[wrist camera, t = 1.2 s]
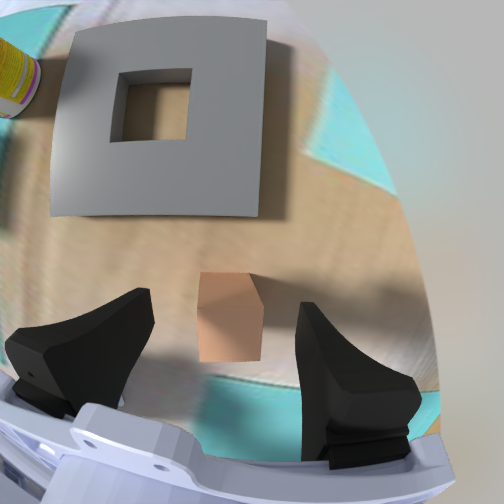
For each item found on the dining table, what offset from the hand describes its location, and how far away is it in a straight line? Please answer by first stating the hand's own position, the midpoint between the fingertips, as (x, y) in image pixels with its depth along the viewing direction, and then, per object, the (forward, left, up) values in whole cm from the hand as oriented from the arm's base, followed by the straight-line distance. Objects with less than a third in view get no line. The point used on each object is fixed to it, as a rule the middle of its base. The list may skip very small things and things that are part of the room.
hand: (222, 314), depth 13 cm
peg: (-3, -1, -10) cm, 11 cm away
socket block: (+12, +5, -10) cm, 17 cm away
